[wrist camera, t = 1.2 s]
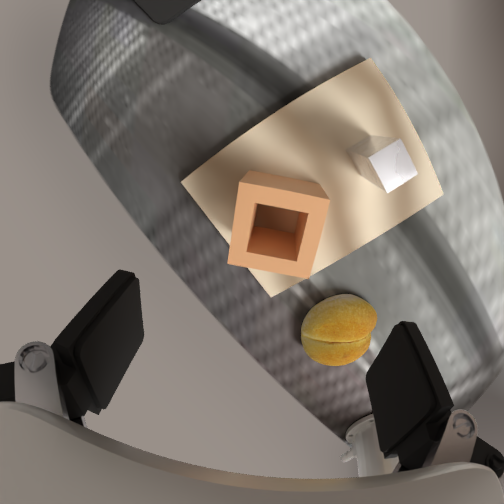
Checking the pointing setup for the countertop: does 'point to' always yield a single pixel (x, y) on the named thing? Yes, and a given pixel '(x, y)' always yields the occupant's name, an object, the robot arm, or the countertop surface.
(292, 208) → the square hollow tube
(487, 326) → the countertop surface
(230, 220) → the base board
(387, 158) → the square shaft
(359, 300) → the bread roll
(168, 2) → the phone
